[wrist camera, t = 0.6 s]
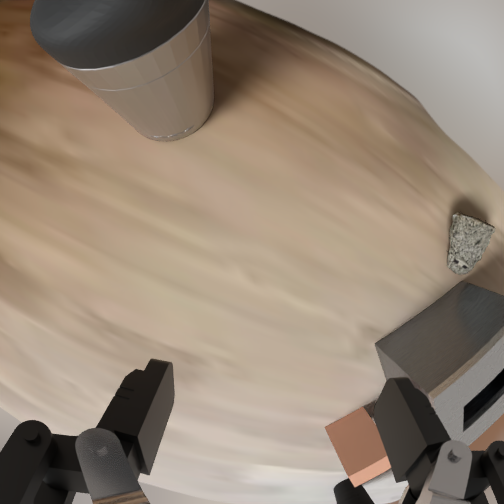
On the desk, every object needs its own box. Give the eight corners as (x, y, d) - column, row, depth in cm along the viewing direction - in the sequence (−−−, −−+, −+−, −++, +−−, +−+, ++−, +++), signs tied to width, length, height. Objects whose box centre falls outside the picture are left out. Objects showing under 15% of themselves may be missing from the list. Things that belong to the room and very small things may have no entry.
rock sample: (447, 292, 29) (501, 249, 23) (418, 240, 33) (466, 195, 27) (469, 284, 34) (511, 250, 28) (445, 242, 38) (484, 206, 32)
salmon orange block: (331, 439, 35) (354, 487, 25) (324, 427, 34) (348, 476, 25) (368, 420, 35) (397, 463, 25) (362, 406, 35) (394, 451, 25)
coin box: (374, 343, 33) (433, 398, 20) (461, 280, 33) (529, 305, 20) (397, 417, 36) (439, 468, 23) (471, 360, 36) (520, 394, 23)
